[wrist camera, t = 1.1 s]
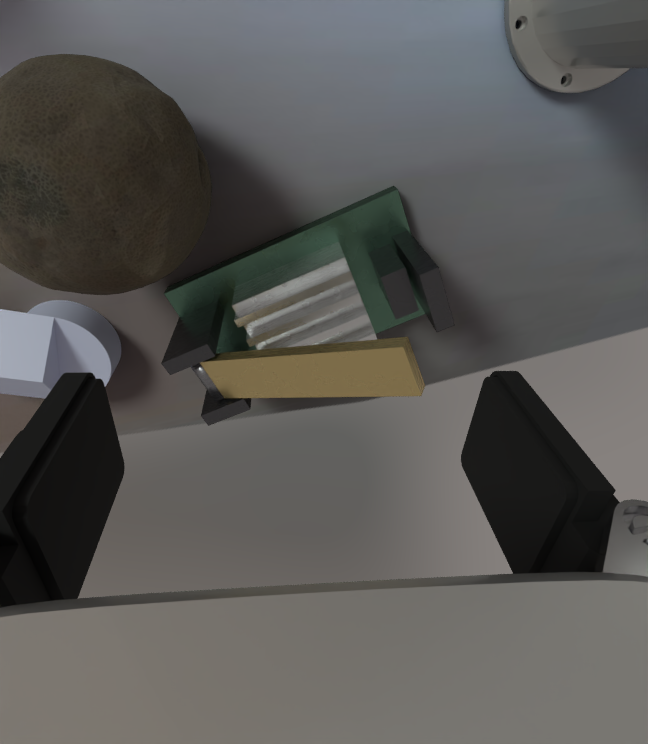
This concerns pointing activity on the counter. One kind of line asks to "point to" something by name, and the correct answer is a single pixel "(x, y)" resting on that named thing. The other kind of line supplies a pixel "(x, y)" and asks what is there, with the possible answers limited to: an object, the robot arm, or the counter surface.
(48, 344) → the wedge on round base
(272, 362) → the retention strap
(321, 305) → the cooling block
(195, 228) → the cantaloupe
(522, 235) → the counter surface
